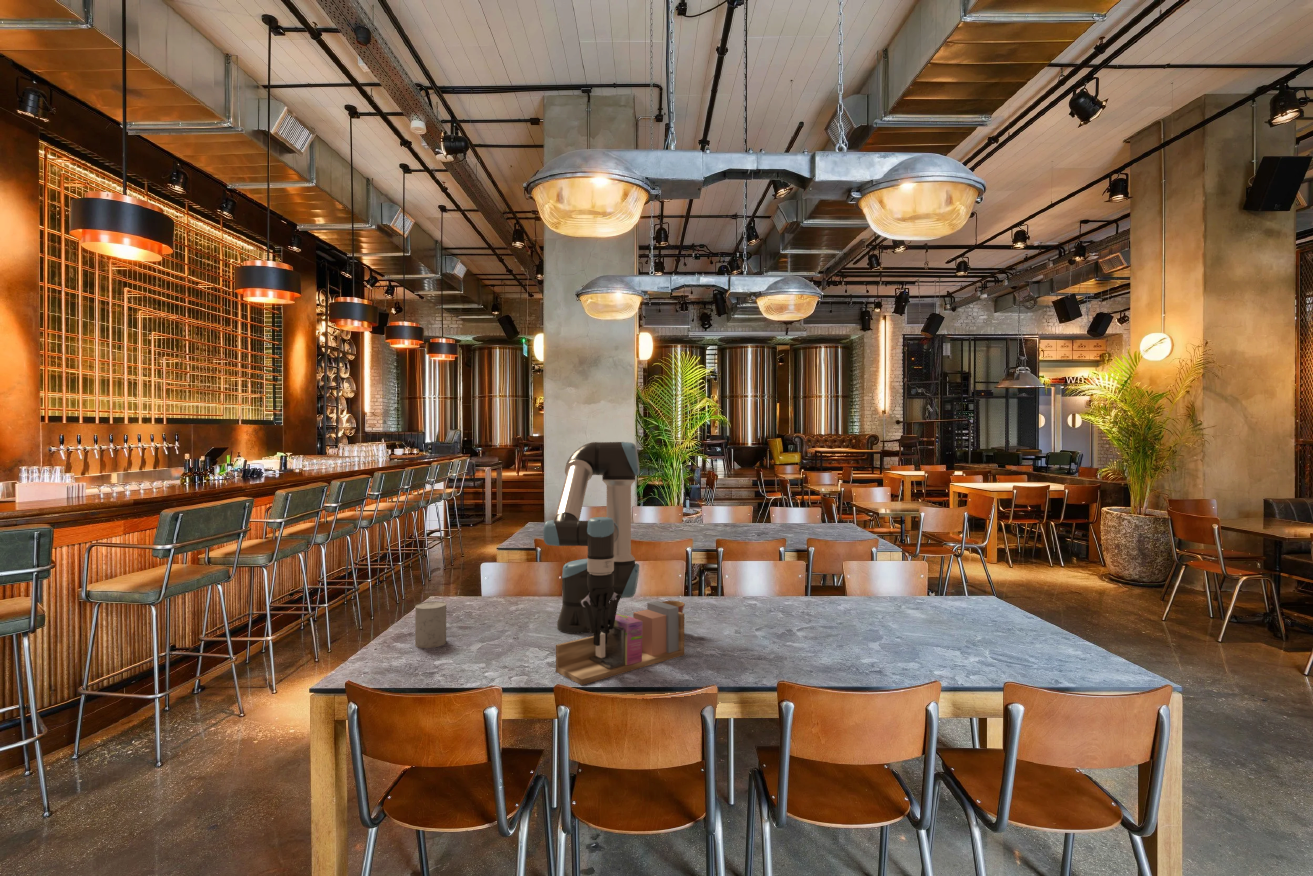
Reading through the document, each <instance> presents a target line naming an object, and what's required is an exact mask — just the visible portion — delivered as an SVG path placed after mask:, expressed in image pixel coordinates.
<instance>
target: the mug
mask: <svg viewBox="0 0 1313 876" xmlns="http://www.w3.org/2000/svg"><path fill="white" fill-rule="evenodd" d="M662 602H663V603H666V604H669V605H673V606H676V607H678V612H681V613H684V608H685V605H686V604H685V603H684V602H683V601H679V600H665V601H662Z"/></svg>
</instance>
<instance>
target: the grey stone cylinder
mask: <svg viewBox="0 0 1313 876" xmlns="http://www.w3.org/2000/svg"><path fill="white" fill-rule="evenodd" d="M447 604H448V603H447V602H445V601H440V600H438V601H437V600H435V601H432V600H431V601H425V602H424V601H423V602H420V603H418V604H416V605H415V607H414V609H415V611H414V612H415V614H414V615H415V616H414V617H415V619H414V621H415V622H414V623H415V624H414V625H415V626H414V627H415V630H414V632H415V634H414V636H415V638H414V640H415V642H414V646H415V647H417V648H420V649H430V648H431V649H433V648H437V647H441V646H443V645H445V644H446V643H448V642H447V641H448V640H447Z"/></svg>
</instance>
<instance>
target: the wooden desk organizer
mask: <svg viewBox="0 0 1313 876" xmlns="http://www.w3.org/2000/svg"><path fill="white" fill-rule="evenodd" d="M678 624H679V650H678V651H674V652H671V653H667V652H666V653H662V654H658V655H655V656H650V655H648V654H645V653H643V652H642V662H639V663H636V664H632V665H628V666H626V665H624V666H620V667H617V668H613V669H608V668H606V667H604V666H602V665H600V664H597V663H595V662H593V661H591V660H590V657H592V656H596V645H594V635H593V636H587V637H583V638H580V639H574V640H571V641H567V642H562V643H557V644H555V672H556V673H558V674H560V675H561V676H563V677H565V678H567V679H569V680H571V681H573V682H575V683H576V684H578V685H581V686H584V685H586V684H591V683H594V682H596V681H601V680H603V679H607V678H611V677H614V676H618V675H621V674H624V673H628V672H632V671H634V670H638V669H641V668H644V667H648V666H652V665H654V664H655V665H656V664H658V663H662V662H665V661H668V660H672V659H675V658H680V657H683V656H685V613H684V612H683V613H681V612H678Z"/></svg>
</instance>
